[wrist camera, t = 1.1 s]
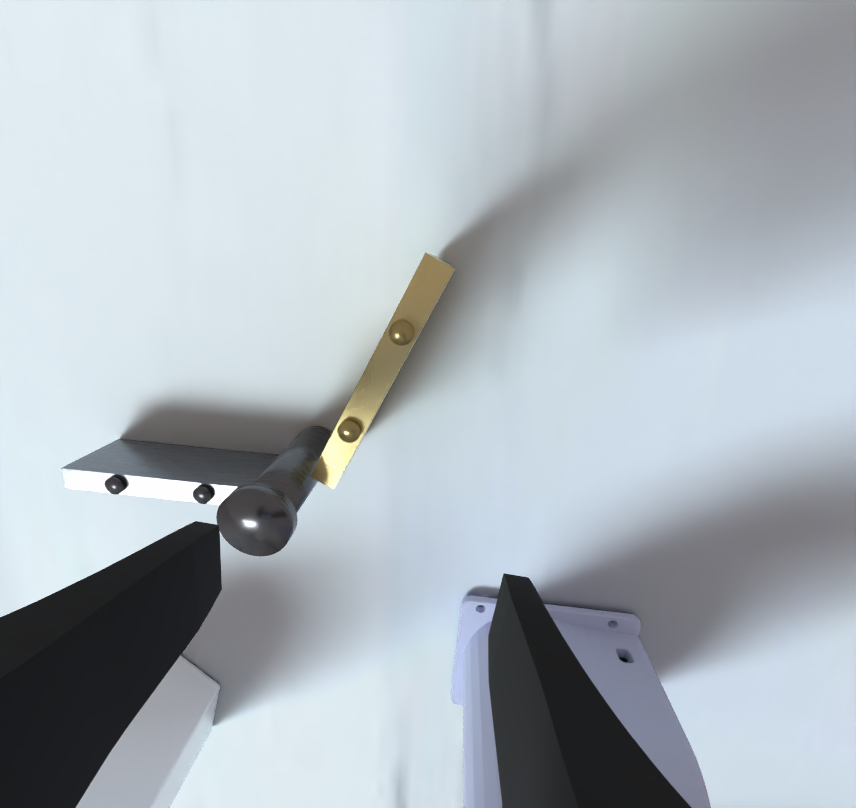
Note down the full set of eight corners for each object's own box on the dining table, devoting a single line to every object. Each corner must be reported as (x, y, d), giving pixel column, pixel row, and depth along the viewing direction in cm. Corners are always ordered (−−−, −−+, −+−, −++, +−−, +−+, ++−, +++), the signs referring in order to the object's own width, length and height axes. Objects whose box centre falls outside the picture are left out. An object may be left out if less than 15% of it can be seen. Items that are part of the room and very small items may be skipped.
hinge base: (343, 423, 20) (288, 495, 13) (343, 479, 21) (292, 571, 14) (111, 400, 20) (-45, 460, 14) (121, 456, 21) (-19, 535, 15)
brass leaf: (361, 440, 20) (332, 491, 15) (343, 430, 20) (308, 479, 15) (455, 268, 17) (454, 269, 12) (434, 256, 17) (424, 252, 12)
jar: (197, 635, 25) (-20, 938, 14) (243, 726, 28) (90, 1048, 16) (74, 648, 26) (-218, 936, 15) (128, 734, 29) (-88, 1038, 18)
